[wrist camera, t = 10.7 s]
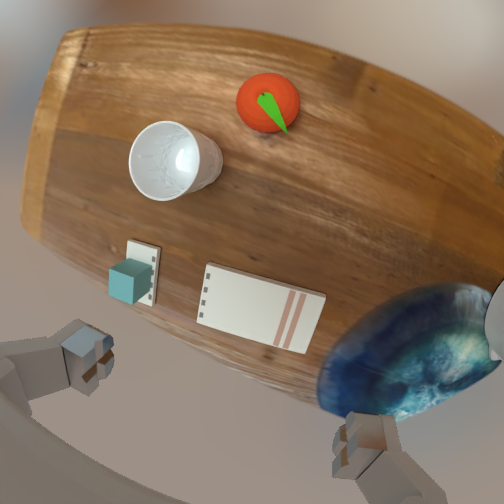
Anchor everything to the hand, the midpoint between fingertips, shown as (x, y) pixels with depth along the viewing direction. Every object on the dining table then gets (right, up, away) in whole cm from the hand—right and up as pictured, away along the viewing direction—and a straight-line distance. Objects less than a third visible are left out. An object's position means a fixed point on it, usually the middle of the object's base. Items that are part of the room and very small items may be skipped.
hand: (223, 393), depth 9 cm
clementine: (+4, +21, +24) cm, 32 cm away
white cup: (-6, +16, +28) cm, 32 cm away
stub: (-15, +1, +33) cm, 36 cm away
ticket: (+2, -3, +31) cm, 31 cm away
